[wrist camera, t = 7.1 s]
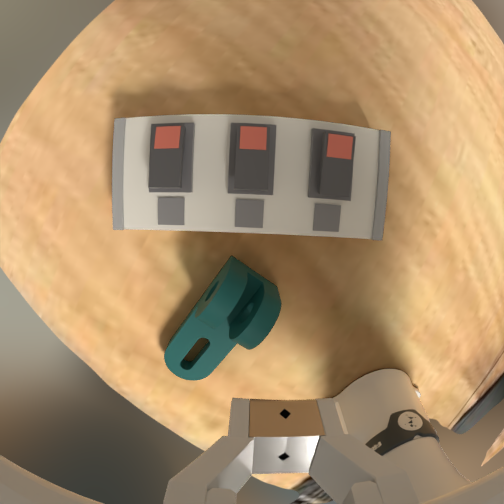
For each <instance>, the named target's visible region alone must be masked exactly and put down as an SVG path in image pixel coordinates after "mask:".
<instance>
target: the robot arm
mask: <svg viewBox="0 0 504 504" xmlns="http://www.w3.org/2000/svg"><path fill="white" fill-rule="evenodd" d="M419 398H420V392H419V390H418V389H417V388H415V387H413V386H412V383H411V381H410V378H409V376H408V375H407V374H406V373H405V372H403V371H401V370H397V369H382V370H378V371H374V372H372V373H369V374H367V375H365V376H363V377H361V378H359V379H357V380H356V381H354V382H353V383H351V384H350V385H349V386H348V387H347V388H345V389H344V390H343V391H342V392H341V393H340V394H339V395H337V396H336V397H334V398H322V399H307V400H265V399H250V401H249V399H242V398H232V401H231V411H230V421H229V431H228V436H222V437H221V438H220V439H219V440H218V441H217V442H215V443H214V444H213V445H212V446H211V447H210V448H208V449H207V450H206V451H205V452H204V453H203V454H202V455H200V456H199V457H198V458H197V459H196V460H194V461H193V462H192V463H191V464H190V465H188V466H187V467H186V468H184V469H183V470H182V471H181V472H179V473H178V474H177V475H176V476H174V477H173V478H172V479H170V480H169V483H168V487H167V490H166V494H165V498H164V502H163V504H236V494H237V492H238V491H239V490H240V489H241V488H242V486H243V485H244V484H245V483H246V481H247V480H248V479H249V478H250V476H251V475H252V474H269V473H309V475H310V476H311V477H312V478H313V479H314V480H315V481H316V482H317V483H318V484H319V485H320V486H321V487H322V489H323V490H324V491H325V492H326V493H327V494H328V495H329V496H330V497H331V498H332V499H333V500H334V501H335V502H336V503H337V504H504V466H503V467H501V468H499V469H498V470H496V471H494V472H492V473H490V474H488V475H486V476H484V477H482V478H481V479H479V480H476V481H474V482H471V481H469V480H468V479H466V478H465V477H464V476H462V475H461V474H460V473H459V472H458V471H457V469H456V468H455V467H454V465H453V464H452V463H451V461H450V460H449V458H447V456H446V454H445V453H444V451H443V450H442V448H441V446H440V445H439V437H438V436H437V434H436V433H437V432H436V430H435V429H434V428H433V427H432V425H431V423H430V420H429V418H428V415H427V413H426V411H425V409H424V407H423V405H422V403H421V401H420V399H419ZM0 504H103V503H100V502H97V501H94V500H91V499H89V498H86V497H83V496H80V495H78V494H76V493H73V492H71V491H68V490H66V489H64V488H61V487H59V486H57V485H54V484H52V483H50V482H48V481H46V480H44V479H42V478H40V477H38V476H36V475H34V474H32V473H30V472H28V471H26V470H25V469H23V468H21V467H19V466H17V465H16V464H14V463H12V462H11V461H9V460H7V459H5V458H4V457H2V456H1V455H0Z"/></svg>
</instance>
